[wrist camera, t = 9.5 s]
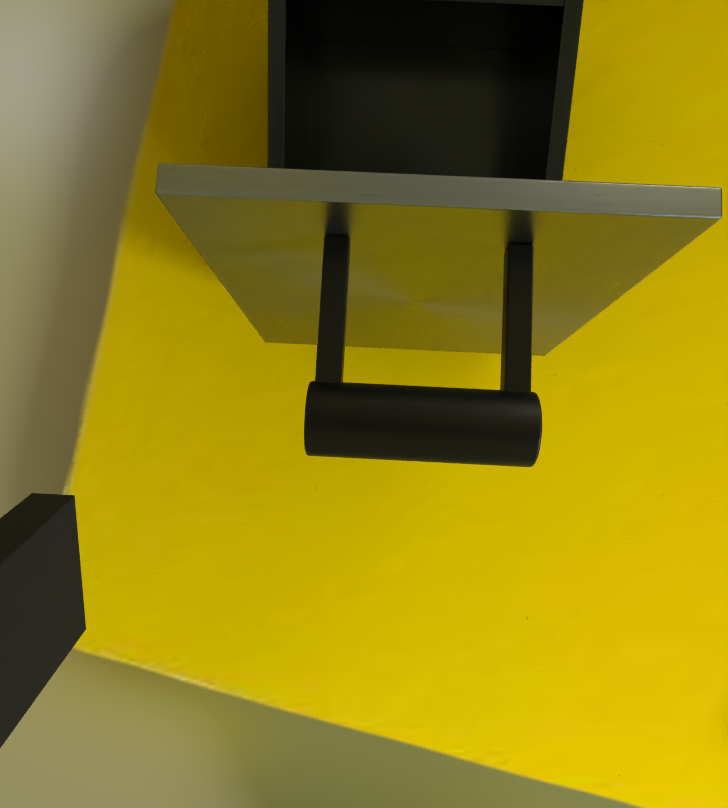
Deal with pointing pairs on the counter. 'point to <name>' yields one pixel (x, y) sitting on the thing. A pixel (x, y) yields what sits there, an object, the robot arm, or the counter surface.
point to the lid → (426, 285)
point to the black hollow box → (422, 86)
